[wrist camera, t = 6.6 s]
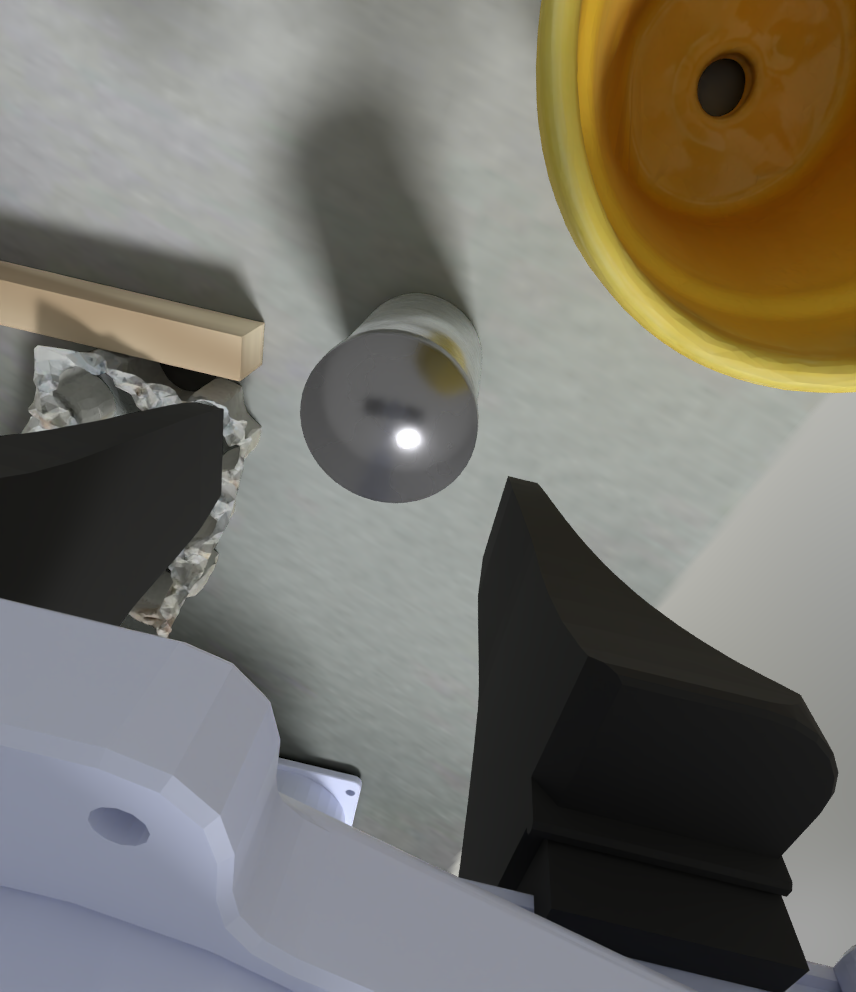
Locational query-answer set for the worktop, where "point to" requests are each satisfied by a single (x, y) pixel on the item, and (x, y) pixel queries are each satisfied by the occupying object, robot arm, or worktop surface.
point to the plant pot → (712, 176)
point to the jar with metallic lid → (397, 401)
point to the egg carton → (85, 398)
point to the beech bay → (129, 322)
